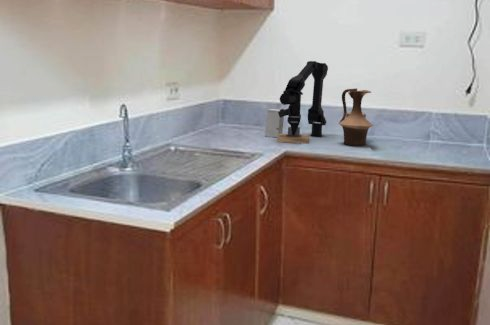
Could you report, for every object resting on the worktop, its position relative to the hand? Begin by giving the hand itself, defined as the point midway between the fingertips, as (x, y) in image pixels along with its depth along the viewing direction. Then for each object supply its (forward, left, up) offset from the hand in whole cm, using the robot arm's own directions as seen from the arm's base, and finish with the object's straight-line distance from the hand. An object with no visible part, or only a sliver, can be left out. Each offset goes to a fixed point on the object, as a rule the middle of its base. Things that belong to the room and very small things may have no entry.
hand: (293, 133), depth 261 cm
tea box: (-9, +32, -4) cm, 33 cm away
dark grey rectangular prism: (0, 0, -4) cm, 4 cm away
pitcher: (+4, +31, -4) cm, 31 cm away
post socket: (0, 0, -4) cm, 4 cm away
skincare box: (-12, -11, -4) cm, 17 cm away
